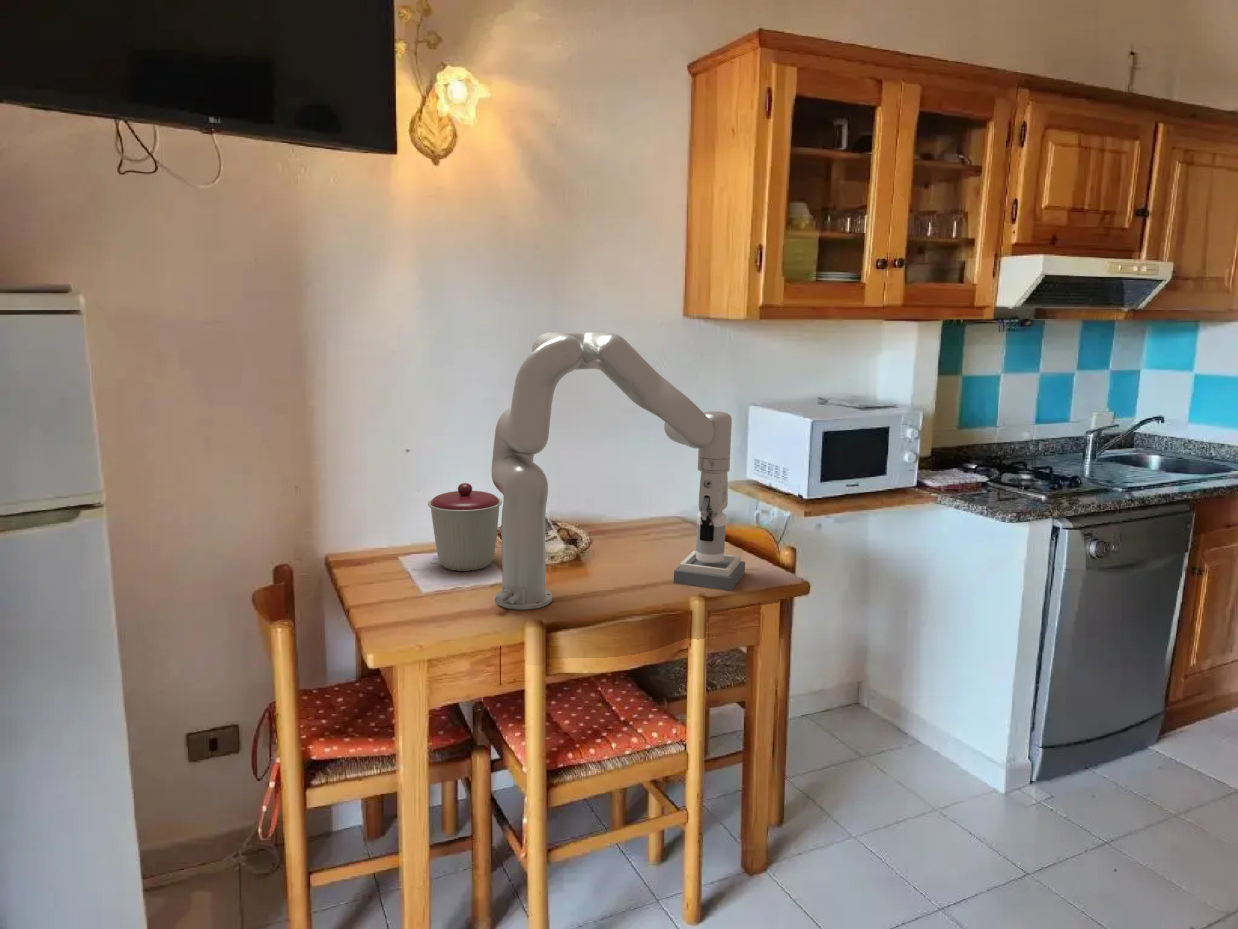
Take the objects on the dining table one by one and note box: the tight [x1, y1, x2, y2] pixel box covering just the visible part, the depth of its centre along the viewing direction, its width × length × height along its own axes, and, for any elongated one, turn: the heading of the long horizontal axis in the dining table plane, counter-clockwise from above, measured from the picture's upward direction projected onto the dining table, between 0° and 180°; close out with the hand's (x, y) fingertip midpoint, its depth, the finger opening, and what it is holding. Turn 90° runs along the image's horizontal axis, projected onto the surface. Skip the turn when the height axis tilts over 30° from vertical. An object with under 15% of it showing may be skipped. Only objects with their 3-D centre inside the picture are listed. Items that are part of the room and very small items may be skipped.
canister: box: [427, 482, 503, 572], centre depth 211 cm, size 18×18×21 cm
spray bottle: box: [695, 510, 727, 563], centre depth 204 cm, size 7×7×18 cm
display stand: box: [673, 550, 746, 591], centre depth 206 cm, size 14×14×4 cm
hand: (710, 536), depth 204 cm, fingers closed on spray bottle, 6 cm apart
